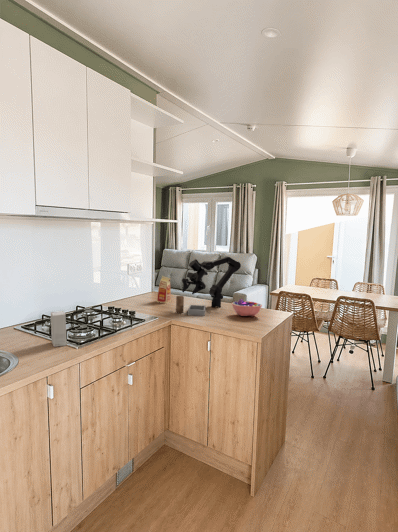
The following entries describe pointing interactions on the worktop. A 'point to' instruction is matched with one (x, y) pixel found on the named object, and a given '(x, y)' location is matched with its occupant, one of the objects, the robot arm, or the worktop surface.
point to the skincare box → (58, 328)
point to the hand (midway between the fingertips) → (187, 292)
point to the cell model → (246, 308)
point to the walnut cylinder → (179, 304)
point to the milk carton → (164, 290)
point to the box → (196, 310)
